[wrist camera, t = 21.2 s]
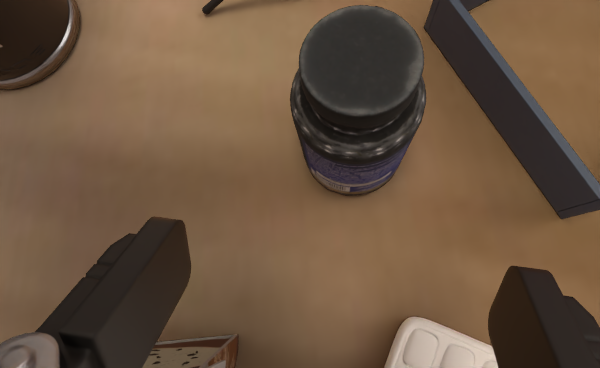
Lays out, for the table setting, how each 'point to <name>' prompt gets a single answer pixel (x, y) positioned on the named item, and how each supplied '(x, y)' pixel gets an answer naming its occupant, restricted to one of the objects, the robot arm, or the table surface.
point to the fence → (513, 109)
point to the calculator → (437, 347)
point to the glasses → (211, 6)
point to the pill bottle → (358, 97)
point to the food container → (195, 353)
